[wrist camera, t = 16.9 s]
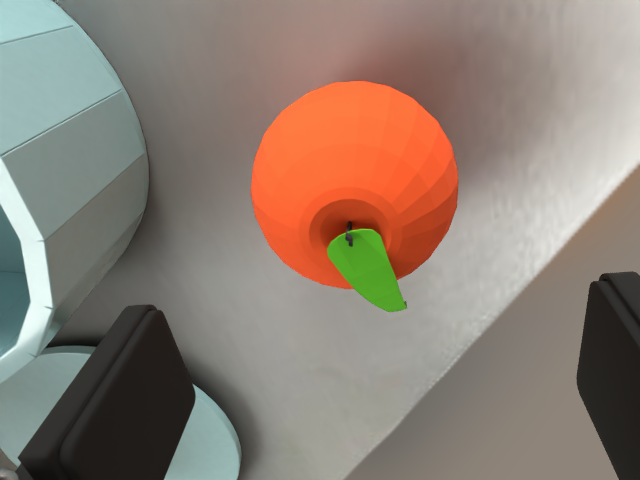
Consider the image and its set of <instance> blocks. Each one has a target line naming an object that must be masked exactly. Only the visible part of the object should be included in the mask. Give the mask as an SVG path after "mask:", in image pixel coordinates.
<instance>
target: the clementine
mask: <svg viewBox="0 0 640 480" xmlns="http://www.w3.org/2000/svg"><path fill="white" fill-rule="evenodd" d="M251 196H252V202H253V207H254V213H255V217H256V219H257V221H258V223H259V225H260V227H261V229H262V231H263V234H264V236H265V238H266V240H267V242H268V244H269V246H270V247H271V248H272V249H273V250H274V252H275V253H276V254H277V255H278V256H279V257H280V259H281V260H282V261H283V262H284V263H285V264H287V265H288V266H289V267H291V268H292V269H293V270H295V271H296V272H298V273H299V274H300V275H302V276H304V277H306V278H309V279H311V280H313V281H316V282H318V283H320V284H323V285H328V286H333V287H338V288H343V289H355V290H356V291H357V292H358V293H359V294H360V295H362V296H363V297H364V298H365V299H367V300H368V301H369V302H371V303H372V304H374V305H376V306H377V307H379V308H381V309H383V310H386V311H388V312H394V311H401V310H404V309H406V308H407V305H406V301H405V302H404V301H403V298H402V295H401V293H400V290H399V287H398V284H397V280H398V279H400V278H402V277H404V276H406V275H408V274H410V273H412V272H413V271H414V270H415V269H417V268H418V267H419V266H420V265H421V264H423V263H424V262H425V261H426V260H427V259H429V257H430V256H431V255H432V253H433V252H434V250H435V249H436V248H437V246H438V245H439V243H440V242H441V241H442V239H443V238H444V236H445V235H446V233H447V231H448V230H449V227H450V225H451V222H452V219H453V216H454V213H455V211H456V208H457V196H458V169H457V165H456V161H455V157H454V153H453V149H452V145H451V143H450V141H449V140H448V138H447V136H446V135H445V133H444V131H443V129H442V128H441V126H440V124H439V123H438V121H437V120H436V119H435V118H434V117H433V116H431V115H430V114H429V113H428V112H427V111H426V110H425V109H424V108H423V107H422V106H421V105H420V104H418V103H417V102H416V101H415V100H414V99H413V98H412V97H410V96H408V95H406V94H404V93H402V92H400V91H398V90H396V89H394V88H392V87H390V86H387V85H381V84H376V83H371V82H366V81H351V82H338V83H332V84H330V85H327V86H324V87H321V88H319V89H316V90H313V91H310V92H308V93H307V94H306V95H304V96H303V97H301V98H300V99H299V100H297V101H296V102H294V103H293V104H292V105H290V106H289V107H287V108H286V109H285V110H283V111H282V112H281V113H280V114H279V116H278V117H277V118H276V119H275V121H274V122H273V123H272V124H271V126H270V127H269V128H268V129H267V131H266V132H265V134H264V136H263V139H262V141H261V144H260V146H259V149H258V151H257V153H256V156H255V161H254V166H253V174H252V184H251Z"/></svg>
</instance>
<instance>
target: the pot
mask: <svg viewBox="0 0 640 480" xmlns="http://www.w3.org/2000/svg"><path fill="white" fill-rule="evenodd" d="M148 188H149V163H148V157H147V151H146V144H145V140H144V136H143V133H142V129H141V126H140V123H139V119H138V117H137V114H136V112H135V110H134V107H133V105H132V102H131V100H130V98H129V95H128V94H127V92H126V90H125V88H124V86H123V85H122V83H121V81H120V79H119V77H118V76H117V74H116V72H115V71H114V69H113V68H112V66H111V65H110V63H109V62H108V61H107V59H106V58H105V56H104V55H103V53H102V52H101V51H100V49H99V48H98V47H97V46H96V44H95V43H94V42H93V41H92V40H91V39H90V37H89V36H88V35H87V34H86V33H85V32H84V30H83V29H82V28H81V27H80V26H79V25H78V24H77V23H76V22H75V21H74V20H73V19H72V18H71V17H70V16H69V15H68V14H67V13H66V12H64V11H63V10H62V9H61V8H60V7H59V6H58V5H57V4H56V3H54V2H53V1H52V0H0V385H1V384H3V383H4V382H5V381H7V380H8V379H9V378H11V377H12V376H13V375H15V374H16V373H17V372H19V371H20V370H21V369H23V368H24V367H25V366H26V365H28V364H29V363H30V362H32V361H33V360H34V359H36V358H37V357H38V356H39V354H40V353H41V352H42V351H43V350H44V348H45V347H46V346H47V345H48V344H49V342H50V341H51V340H52V339H53V337H54V336H55V335H56V334H57V333H58V331H59V330H60V329H61V328H62V327H63V325H64V324H65V323H66V322H67V320H68V319H69V318H70V317H71V316H72V314H73V313H74V312H75V311H76V310H77V308H78V307H79V306H80V305H81V304H82V302H83V301H84V300H85V299H86V297H87V296H88V295H89V294H90V293H91V291H92V290H93V289H94V288H95V287H96V285H97V284H98V283H99V282H100V281H101V279H102V278H103V277H104V276H105V274H106V273H107V272H108V271H109V270H110V268H111V267H112V266H113V265H114V264H115V262H116V261H117V260H118V259H119V257H120V256H121V255H122V254H123V253H124V251H125V250H126V249H127V247H128V244H129V242H130V240H131V238H132V237H133V236H134V234H135V232H136V230H137V228H138V226H139V224H140V222H141V220H142V217H143V214H144V210H145V207H146V203H147V196H148Z"/></svg>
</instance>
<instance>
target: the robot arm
mask: <svg viewBox="0 0 640 480" xmlns="http://www.w3.org/2000/svg"><path fill="white" fill-rule="evenodd" d="M577 386H578V390H579V393H580V396H581V398H582V400H583V402H584V405H585V407H586V409H587V411H588V413H589V415H590V418H591V420H592V422H593V424H594V426H595V428H596V431H597V432H598V435H599V437H600V439H601V441H602V444H603V446H604V448H605V450H606V452H607V454H608V457H609V459H610V461H611V463H612V465H613V467H614V470H615V472H616V474H617V476H618V478H619V480H640V276H639V275H638V274H637V273H636V272H619V273H605V274H602V275H601V276H600V278H599V281H593V282H592V283H591V284H590V288H589V295H588V302H587V309H586V315H585V322H584V329H583V336H582V343H581V350H580V357H579V364H578V370H577ZM195 399H196V394H195V389H194V386H193V384H192V382H191V379H190V377H189V374H188V372H187V369H186V367H185V364H184V362H183V360H182V357H181V355H180V352H179V350H178V347H177V345H176V343H175V340H174V338H173V335H172V333H171V330H170V328H169V325H168V323H167V321H166V318H165V316H164V314H163V312H162V311H161V310H157V309H156V307H155V306H154V305H150V304H149V305H135V306H128V307H126V308H125V309H124V310H123V311H122V313H121V314H120V315H119V317H118V318H117V320H116V321H115V322H114V324H113V325H112V327H111V328H110V329H109V331H108V332H107V334H106V335H105V336H104V338H103V339H102V341H101V342H100V343H99V345H98V346H97V347H96V349H95V350H94V352H93V353H92V354H91V356H90V357H89V359H88V360H87V361H86V363H85V364H84V366H83V367H82V368H81V370H80V371H79V373H78V374H77V375H76V377H75V378H74V379H73V381H72V382H71V384H70V385H69V386H68V388H67V389H66V391H65V392H64V393H63V395H62V396H61V398H60V399H59V400H58V402H57V403H56V405H55V406H54V407H53V409H52V410H51V411H50V413H49V414H48V416H47V417H46V418H45V420H44V421H43V423H42V424H41V425H40V427H39V428H38V430H37V431H36V432H35V434H34V435H33V437H32V438H31V439H30V441H29V442H28V444H27V445H26V446H25V448H24V449H23V450H22V452H21V453H20V455H19V456H18V457H17V458H18V459H19V461H20V462H21V464H20V465H19V467H18V468H17V470H16V471H15V472H14V471H12V470H10V469H4V468H0V480H164V478H165V476H166V473H167V471H168V468H169V466H170V464H171V461H172V459H173V456H174V454H175V451H176V449H177V446H178V444H179V442H180V439H181V437H182V434H183V432H184V429H185V427H186V424H187V422H188V420H189V417H190V415H191V412H192V410H193V407H194V404H195Z"/></svg>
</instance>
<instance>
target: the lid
mask: <svg viewBox="0 0 640 480" xmlns="http://www.w3.org/2000/svg"><path fill="white" fill-rule="evenodd" d="M95 349H96V347H91V346H58V347H50V348H45V349H44V350H43V351H42V352H41V353H40V354H39V356H38V357H37V358H36V359H34V360H33V361H32V362H30V363H29V364H28V365H26V366H25V367H24V368H23V369H21V370H20V371H19V372H17V373H16V374H15V375H13V376H12V377H11V378H9V379H8V380H7V381H5V382H4V383H3V384H1V385H0V448H1V450H2V451H3V452H4V453H5V455H6V456H7V457H8V458H9V459H10V460H11V461H12V462H13V463H14V464H15V465H16V466H17V467H19V465H20V464H21V462H20V461H19V459H18V458H17V457H18V456H19V455H20V453H21V452H22V450H23V449H24V448H25V446H26V445H27V444H28V442H29V441H30V439H31V438H32V437H33V435H34V434H35V432H36V431H37V430H38V428H39V427H40V425H41V424H42V423H43V421H44V420H45V418H46V417H47V416H48V414H49V413H50V411H51V410H52V409H53V407H54V406H55V405H56V403H57V402H58V400H59V399H60V398H61V396H62V395H63V393H64V392H65V391H66V389H67V388H68V386H69V385H70V384H71V382H72V381H73V379H74V378H75V377H76V375H77V374H78V373H79V371H80V370H81V368H82V367H83V366H84V364H85V363H86V361H87V360H88V359H89V357H90V356H91V354H92V353H93V352H94V350H95ZM193 386H194V389H195V394H196V399H195V404H194V407H193V410H192V412H191V415H190V417H189V420H188V422H187V424H186V427H185V429H184V432H183V434H182V437H181V439H180V442H179V444H178V446H177V449H176V451H175V454H174V456H173V459H172V461H171V464H170V466H169V468H168V471H167V473H166V476H165V478H164V480H237V478H238V476H239V472H240V468H241V460H242V455H241V446H240V442H239V439H238V436H237V433H236V431H235V429H234V427H233V425H232V423H231V422H230V420H229V419H228V417H227V416H226V415H225V413H224V412H223V411H222V410H221V409H220V407H219V406H218V405H217V404H216V403H215V402H214V401H213V400H212V399H211V398H210V397H209V396H208V395H206V394H205V393H204V392H203V391H202V390H201V389H199V388H198V387H196V386H195V385H194V384H193Z"/></svg>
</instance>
